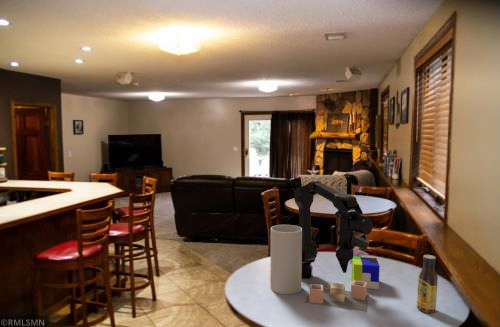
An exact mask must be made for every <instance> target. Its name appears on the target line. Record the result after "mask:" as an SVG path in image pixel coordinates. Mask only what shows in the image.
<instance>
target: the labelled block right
mask: <svg viewBox="0 0 500 327" xmlns="http://www.w3.org/2000/svg"><path fill="white" fill-rule="evenodd" d="M350 291H351V297H352V298H357V299H362V300H365V298H366V296H367V294H368V288H367V282H361V281H356V280H354V281H353V282H352V283H351V285H350Z"/></svg>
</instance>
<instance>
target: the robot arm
mask: <svg viewBox="0 0 500 327" xmlns="http://www.w3.org/2000/svg"><path fill="white" fill-rule="evenodd" d="M315 195H319V196H321V197H322V198H324V199H325V200H328V201H329V202H331V203H332V206H333V207H334V208H335V209H336V210H338V211H336V212H335V213H334V215H335V216H337V217H338V232H337V235H338V238H337V239H338V242H337V246H338V247H336V249H335V257H336V259H337V261H338V263H339V266H340V269H341V271H342V273H344V274H346V273H347V272H348V266H349V262H350V261H351V259H353V255H354V250H353V249H354V247H356V246H357V247H359V249H362V251H364V252H366V251H367V250H368V247H369V244H370V240H369V239H368V238H367V235H369V234H371V232H372V231H373V227H374V224H373V221H372V219H370V216H369V215H367V214H364V212H363V211H362V208H361V207H360V204H359V202H358V200H357V197H356V196H354V195H351V194H348V193H341V192H339V191H337V190H335V189H333V188H332V187H330V186H327V185H326V184H324V183H323V182H321V181H319V180H313V181H309V182H308V183H306V184H304V185H301V186H299V187H296V188H295V189H294V190H293V198H294V202H295V205H297V207H298V220H299V227H301V228H302V273H301V279H304V280H305V279H306V280H310V279H311V277H312V276H313V265H312V264H313V263H315V261H316V258H317V256H318V255H317V254H318V252H319V251H318V245H317V244H315V243H314V241H313V237H312V235H313V234H312V219H311V218H312V217H311V216H312V215H311V207H312V205H313V202H314V197H315ZM356 233H359V234H360V235H358V234H356Z"/></svg>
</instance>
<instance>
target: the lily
mask: <svg viewBox="0 0 500 327" xmlns="http://www.w3.org/2000/svg"><path fill="white" fill-rule="evenodd" d="M353 250H354V255H353V257H365V256H369V253H367V252H366V251H364V250H360V248H359V247H357V246H355V247H354V249H353ZM350 262H352V259H351V260H350Z"/></svg>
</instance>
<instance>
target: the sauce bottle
mask: <svg viewBox="0 0 500 327" xmlns="http://www.w3.org/2000/svg"><path fill="white" fill-rule="evenodd" d="M422 260H423V263H422V264H423V265H422V268H421V271H420V272H419V275H418V281H417V296H416V307H417V309H418V310H419V311H421V312H422V313H426V314H433V313H435V312H436V308H437V299H438V298H437V297H438V296H437V295H438V278H439V277H438V274H437V272H436V261H437V257H436V256H434V255H431V254H424V255H423V256H422Z"/></svg>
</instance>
